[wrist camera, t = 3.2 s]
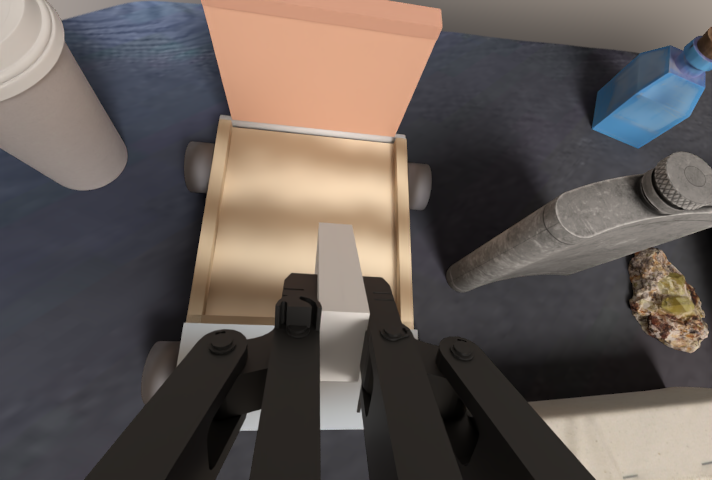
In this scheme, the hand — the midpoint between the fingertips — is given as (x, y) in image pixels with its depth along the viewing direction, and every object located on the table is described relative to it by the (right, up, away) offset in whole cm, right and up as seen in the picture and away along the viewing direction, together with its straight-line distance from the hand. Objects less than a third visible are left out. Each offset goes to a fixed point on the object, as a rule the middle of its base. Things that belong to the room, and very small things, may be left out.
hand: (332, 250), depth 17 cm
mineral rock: (+33, -6, +21) cm, 39 cm away
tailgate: (-3, +11, +17) cm, 21 cm away
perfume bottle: (+34, +15, +29) cm, 47 cm away
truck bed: (-3, -2, +16) cm, 17 cm away
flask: (+17, -2, +20) cm, 26 cm away
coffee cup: (-23, +8, +16) cm, 30 cm away
